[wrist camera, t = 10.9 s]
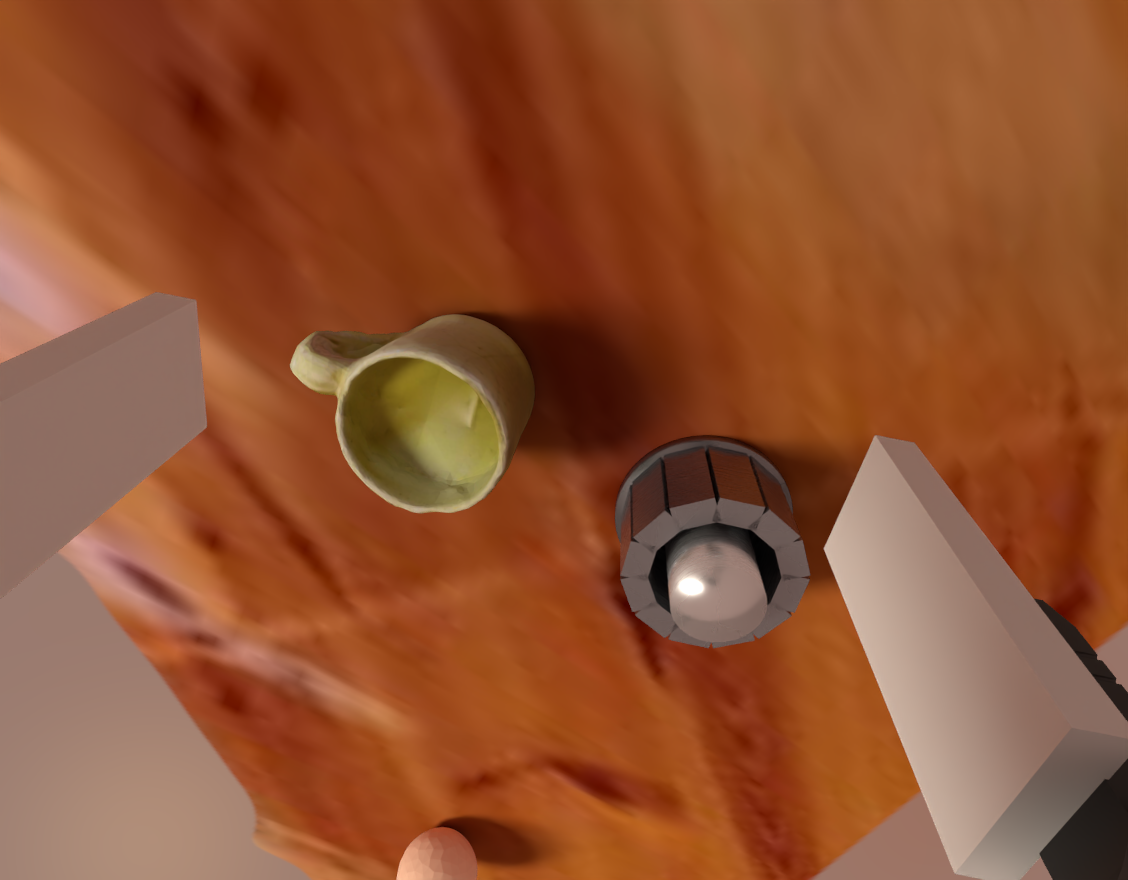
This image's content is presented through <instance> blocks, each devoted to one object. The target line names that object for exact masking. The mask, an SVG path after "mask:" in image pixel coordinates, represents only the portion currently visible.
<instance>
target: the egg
mask: <svg viewBox="0 0 1128 880" xmlns="http://www.w3.org/2000/svg"><path fill="white" fill-rule="evenodd" d="M476 879H477V861H476V857H475V853H474V851H473V849H472V847H471V845H470V843H469V842H468V840H467V839H466V838H465V837H464V836H463V835H462V834H461V833H459V832H458V831H456V830H454V829H451V828H446V827H438V828H432V829H430V830H428V831H426V832H424V833H422V834H420V835H419V836H418V837H417V838H416V839H415V840H414V841H412V842H411V844H410V845H409V846H408V848H407V849H406V851H405V853H404V855H403V857H402V859H401V861H400V865H399V869H398V874H397V880H476Z"/></svg>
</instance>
